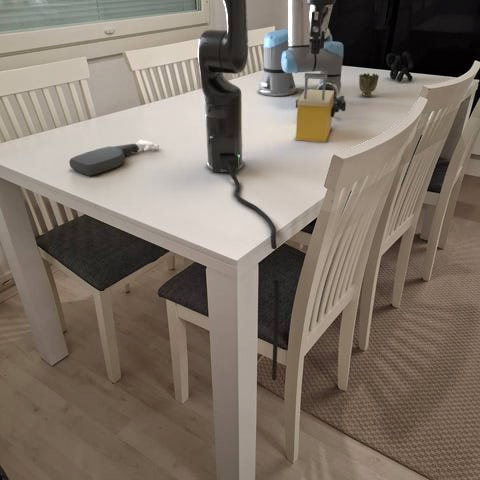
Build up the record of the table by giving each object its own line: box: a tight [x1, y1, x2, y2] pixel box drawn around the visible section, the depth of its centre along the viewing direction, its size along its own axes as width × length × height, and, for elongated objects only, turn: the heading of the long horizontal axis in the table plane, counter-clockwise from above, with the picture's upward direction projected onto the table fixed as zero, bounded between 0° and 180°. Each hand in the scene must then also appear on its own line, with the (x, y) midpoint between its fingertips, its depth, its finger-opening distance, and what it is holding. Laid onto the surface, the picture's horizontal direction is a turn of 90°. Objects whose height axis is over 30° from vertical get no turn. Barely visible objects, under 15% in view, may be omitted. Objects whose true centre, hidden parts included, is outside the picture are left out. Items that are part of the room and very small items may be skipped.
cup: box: [358, 72, 380, 98], centre depth 176 cm, size 8×7×8 cm
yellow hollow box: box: [295, 95, 334, 143], centre depth 138 cm, size 13×9×11 cm
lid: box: [297, 72, 334, 107], centre depth 132 cm, size 14×9×8 cm, turn 163°
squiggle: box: [385, 51, 414, 83], centre depth 198 cm, size 11×10×15 cm
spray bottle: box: [68, 139, 160, 177], centre depth 124 cm, size 3×11×24 cm
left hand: (317, 51), depth 123 cm, fingers open, 8 cm apart
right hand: (316, 111), depth 140 cm, fingers closed on yellow hollow box, 9 cm apart
